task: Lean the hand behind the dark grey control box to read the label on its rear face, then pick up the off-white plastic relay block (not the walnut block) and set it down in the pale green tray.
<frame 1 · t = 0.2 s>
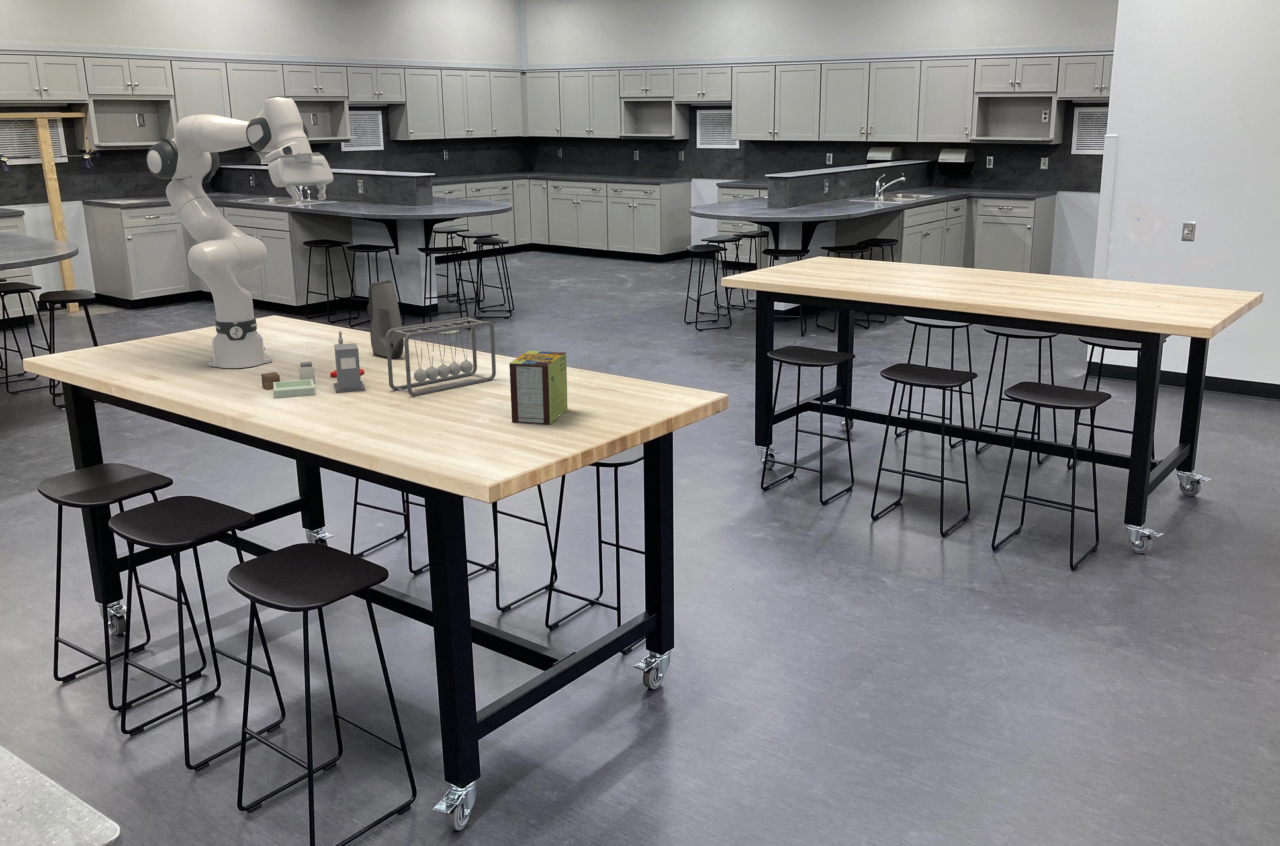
hand: (310, 200, 298), 52 cm above the table, tool tilted 20°, fingers open, 8 cm apart
relay block: (307, 383, 306), on the table
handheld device: (390, 356, 342), on the table
walnut block: (271, 387, 301), on the table
protein box: (540, 416, 271), on the table
newton's cradle: (444, 386, 303), on the table
tray: (294, 392, 296), on the table
tow hook: (348, 375, 317), on the table
control box: (349, 387, 300), on the table
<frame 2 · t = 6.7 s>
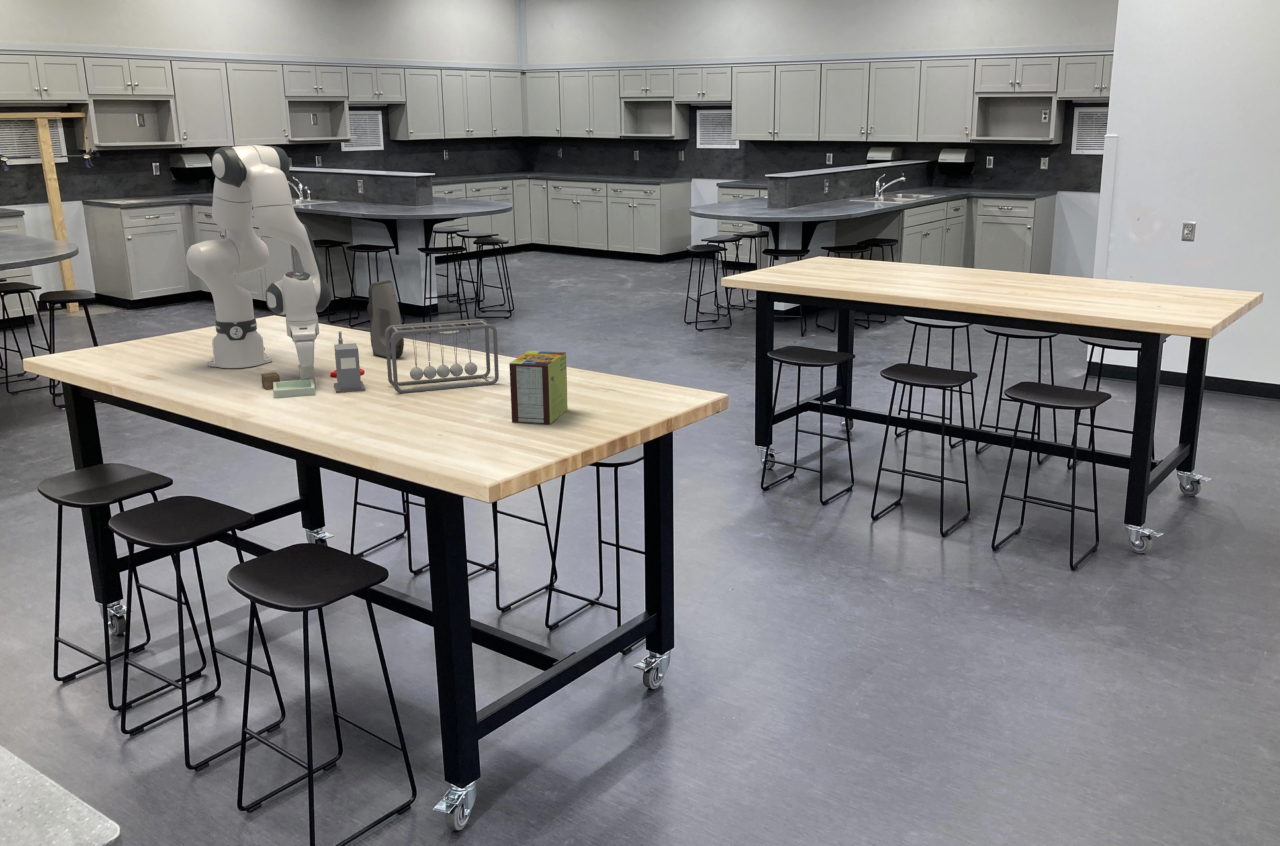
hand: (307, 376, 306), 2 cm above the table, tool pointing down, fingers closed on relay block, 4 cm apart
relay block: (307, 383, 306), on the table, touching gripper
when the fingers open (4 cm above the table, at t = 12.2 s): relay block drops 1 cm, resting on tray.
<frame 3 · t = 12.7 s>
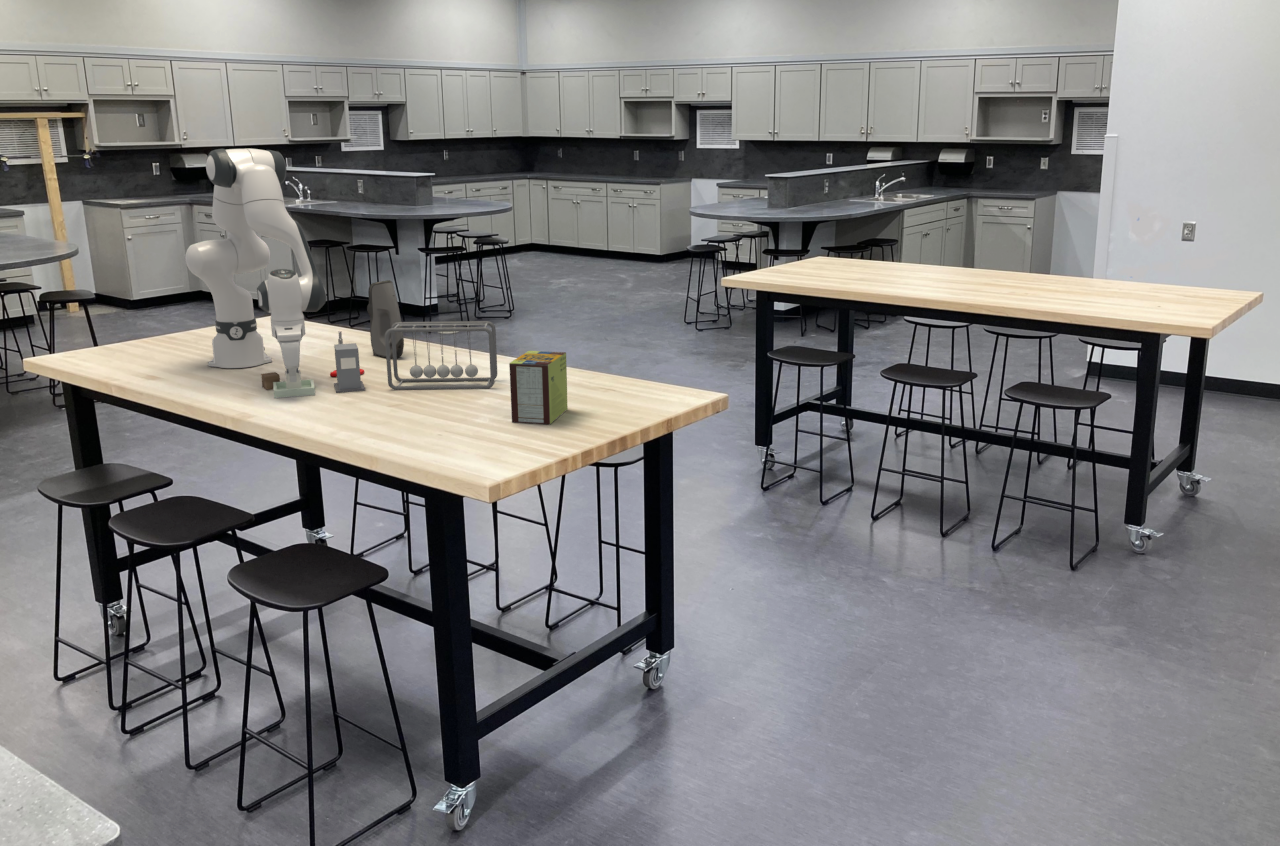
hand: (292, 377, 295), 4 cm above the table, tool pointing down, fingers open, 8 cm apart
relay block: (294, 389, 296), point 1 cm above the table, touching tray
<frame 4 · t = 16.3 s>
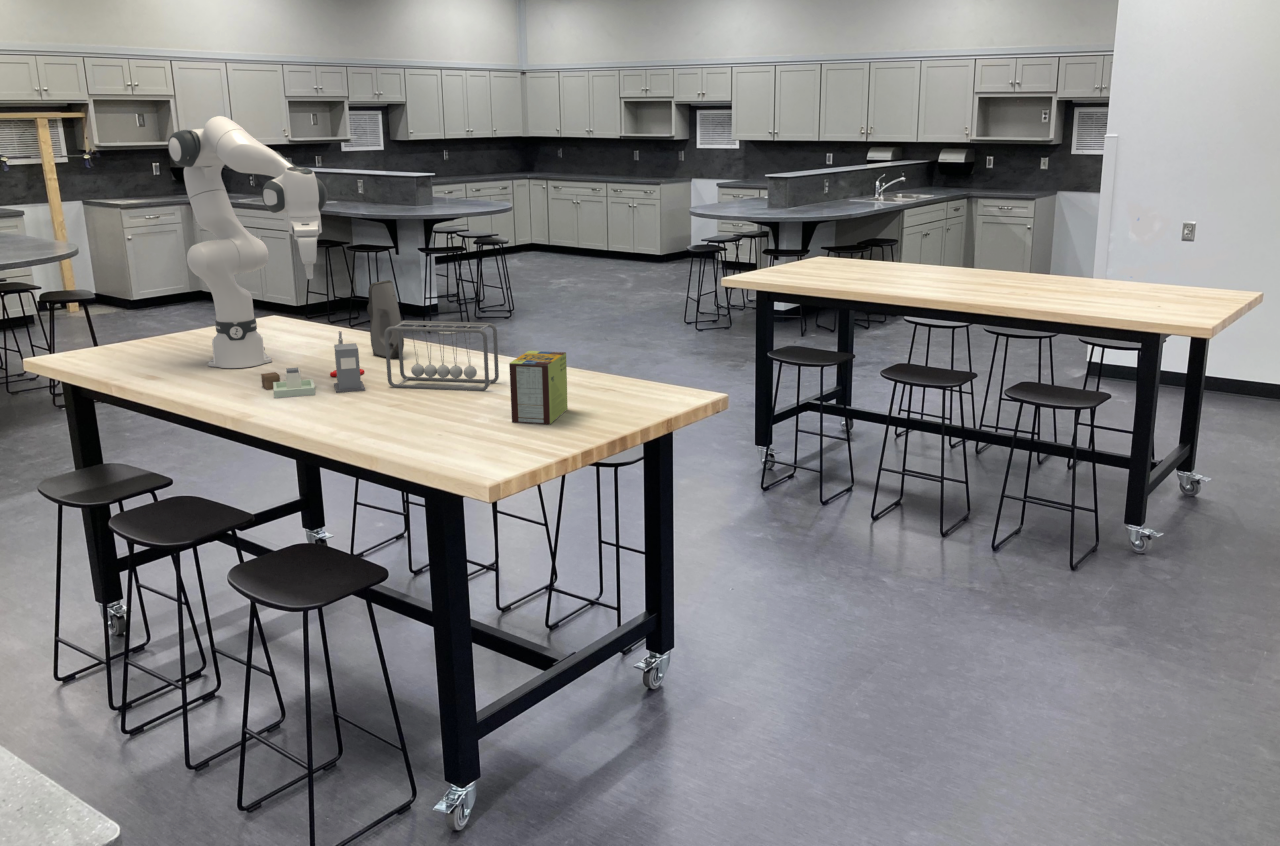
hand: (309, 276, 297), 31 cm above the table, tool pointing down, fingers open, 8 cm apart
at the end: relay block inside the target area on the tray (0.0 cm from its centre), point 0.6 cm above the tray's base; the gripper is holding nothing; walnut block moved 0.1 cm from its start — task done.
